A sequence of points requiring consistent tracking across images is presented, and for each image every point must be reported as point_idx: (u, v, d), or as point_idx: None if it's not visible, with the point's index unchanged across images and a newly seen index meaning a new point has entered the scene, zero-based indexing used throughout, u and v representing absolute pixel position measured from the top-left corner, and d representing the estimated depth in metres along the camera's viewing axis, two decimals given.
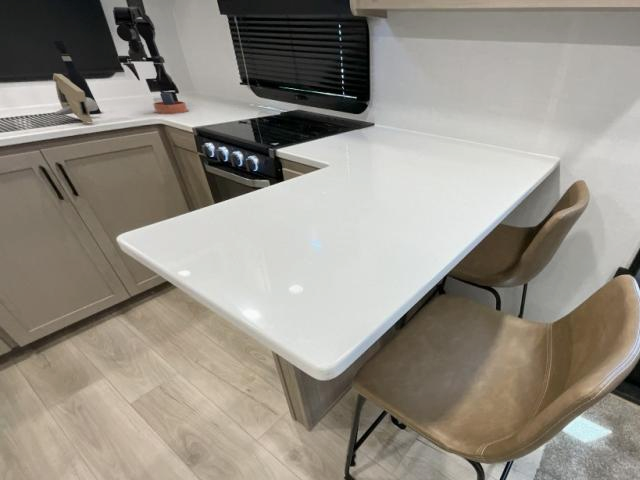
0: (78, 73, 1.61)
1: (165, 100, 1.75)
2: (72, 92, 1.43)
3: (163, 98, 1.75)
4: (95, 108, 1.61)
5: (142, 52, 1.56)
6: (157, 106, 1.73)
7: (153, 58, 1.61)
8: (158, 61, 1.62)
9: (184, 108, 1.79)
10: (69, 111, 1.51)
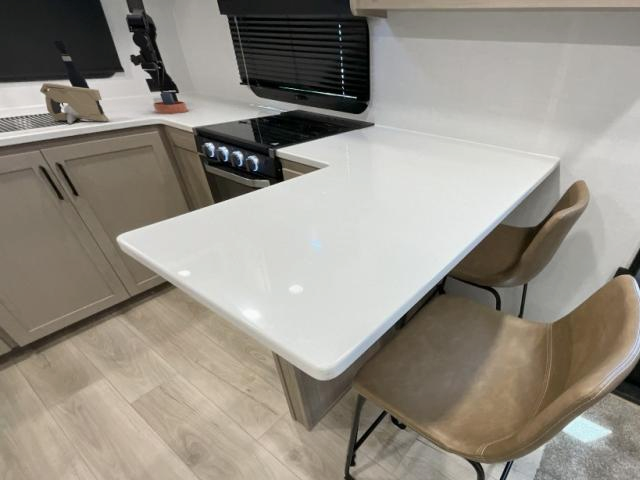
0: (78, 73, 1.61)
1: (165, 100, 1.75)
2: (83, 94, 1.47)
3: (163, 98, 1.75)
4: None
5: None
6: (157, 106, 1.73)
7: None
8: None
9: (184, 108, 1.79)
10: (74, 118, 1.52)
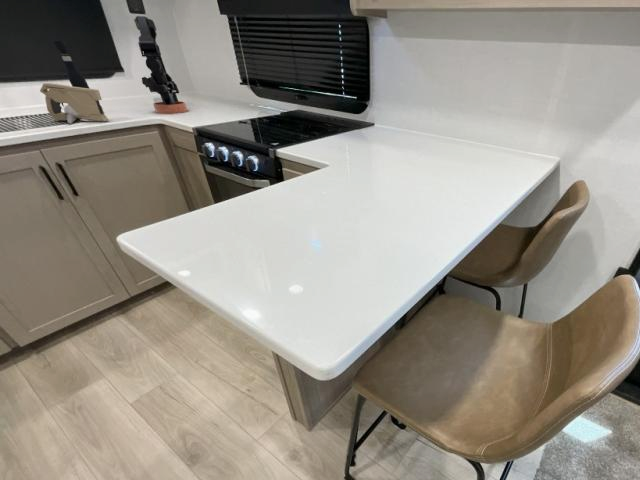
0: (78, 73, 1.61)
1: None
2: (83, 94, 1.47)
3: None
4: None
5: None
6: (157, 106, 1.73)
7: None
8: None
9: (184, 108, 1.79)
10: (74, 118, 1.52)
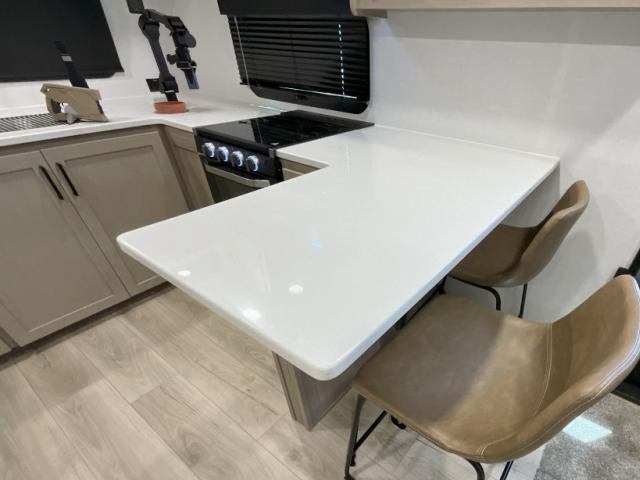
0: (78, 73, 1.61)
1: None
2: (83, 94, 1.47)
3: (186, 76, 1.74)
4: None
5: None
6: (157, 106, 1.73)
7: None
8: None
9: (184, 108, 1.79)
10: (74, 118, 1.52)
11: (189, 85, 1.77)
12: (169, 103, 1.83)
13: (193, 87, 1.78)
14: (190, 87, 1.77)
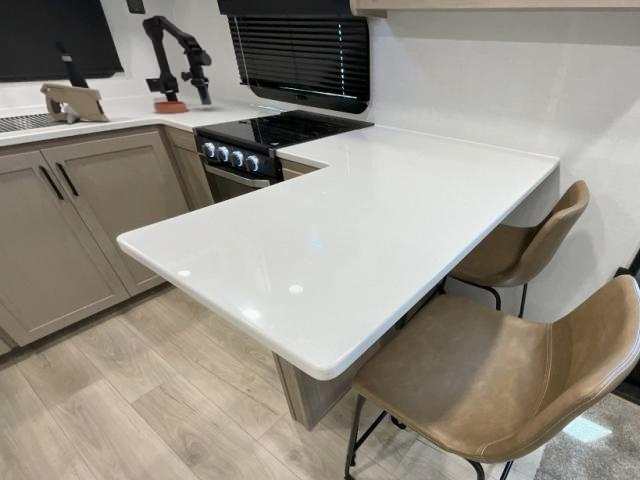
0: (78, 73, 1.61)
1: None
2: (83, 94, 1.47)
3: None
4: None
5: None
6: (157, 106, 1.73)
7: None
8: None
9: (184, 108, 1.79)
10: (74, 118, 1.52)
11: (202, 101, 1.83)
12: (169, 103, 1.83)
13: (206, 103, 1.84)
14: (203, 103, 1.84)
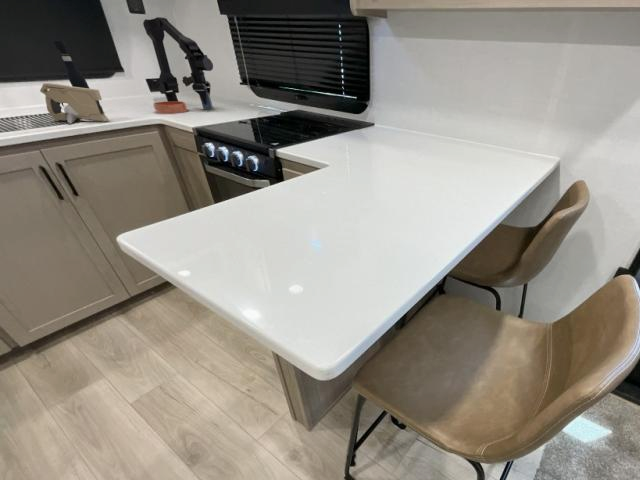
0: (78, 73, 1.61)
1: None
2: (83, 94, 1.47)
3: None
4: None
5: None
6: (157, 106, 1.73)
7: None
8: None
9: (184, 108, 1.79)
10: (74, 118, 1.52)
11: (204, 106, 1.85)
12: (169, 103, 1.83)
13: (207, 108, 1.86)
14: (205, 108, 1.85)
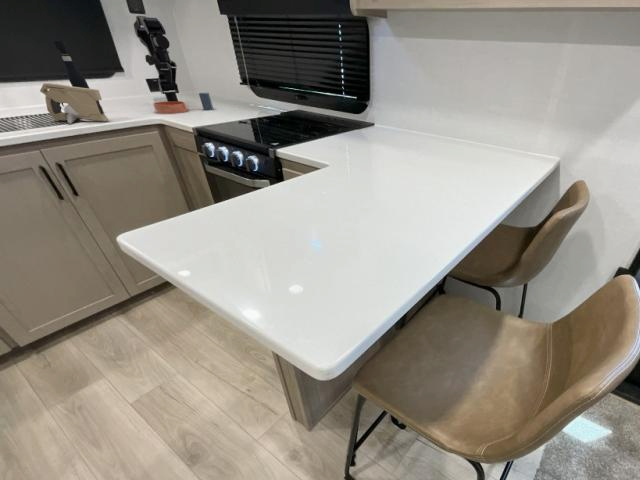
0: (78, 73, 1.61)
1: (203, 100, 1.83)
2: (83, 94, 1.47)
3: (201, 98, 1.82)
4: None
5: None
6: (157, 106, 1.73)
7: None
8: None
9: (184, 108, 1.79)
10: (74, 118, 1.52)
11: (204, 106, 1.85)
12: (169, 103, 1.83)
13: (207, 108, 1.86)
14: (205, 108, 1.85)
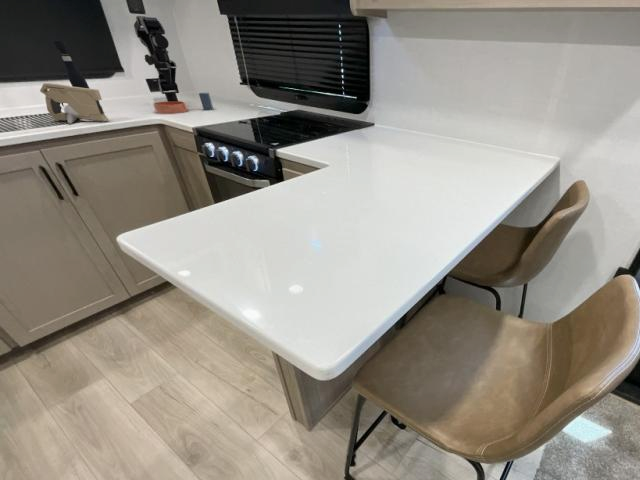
0: (78, 73, 1.61)
1: (203, 100, 1.83)
2: (83, 94, 1.47)
3: (201, 98, 1.82)
4: None
5: None
6: (157, 106, 1.73)
7: None
8: None
9: (184, 108, 1.79)
10: (74, 118, 1.52)
11: (204, 106, 1.85)
12: (169, 103, 1.83)
13: (207, 108, 1.86)
14: (205, 108, 1.85)
